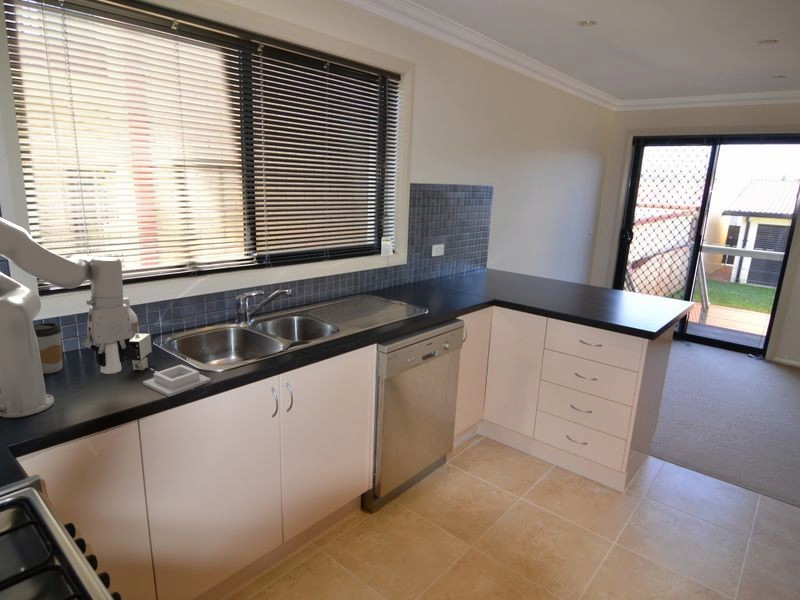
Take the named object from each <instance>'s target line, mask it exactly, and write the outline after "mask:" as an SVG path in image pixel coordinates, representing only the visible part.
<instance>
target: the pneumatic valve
mask: <svg viewBox="0 0 800 600" xmlns="http://www.w3.org/2000/svg"><path fill="white" fill-rule="evenodd" d="M153 344H154V338H153V337H152V333H151V332H149V333H148V332H147V333H146V332H139V333H136V334H135V336H134V337H133V338H132V339H131V340H130V341H129V342H128V344H127V345H126V348H124V360H125V361H131V362H132V367H133V368H132V369H133V371H138V370H139V371H144V370H145V369H147V368H148V367H149V365H148V357H147V356H148V355H149V354H151V353H152V352H153Z"/></svg>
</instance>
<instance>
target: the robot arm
mask: <svg viewBox="0 0 800 600" xmlns="http://www.w3.org/2000/svg"><path fill="white" fill-rule="evenodd" d="M0 256H1V257H3V258H5V259H6V260H8V261H9V262H10V263H11V264H13V265H15V266H16V267H18V268H20V269H21V270H22V271H24V272H25V273H27V274H29V275H31V276H34V277H35V278H37V279H39V280H41V281H44V282H47V283H49V284H51V285H53V286H56V287H59V288H61V289H75V288H78V287H80V286H81V285H82V284H84V282H87V281H90V290H91V291H90V292H91V293H90V294H91V296H90V298H89V299H87V300H86V305H88V306H89V305H90V306H89V310H88V315H87V326H86V327H87V328H86V330H87V334H86V335H85V338H84V339H83V340H82V342H81V345H82V346H84V347H86V348H88V349H91V350H92V351H94V352H95V358H96V359H95V360H96V363H97V365H99V366H100V367H101V366H102V367H104V366H106V357H105V353H104V352H103V349H104V344H106V343H111V342H116V341H117V344H118V350H119V358H120V362H121V363H123V362H124V359H125V357H124V348H126V345H127V344H128V342H129V341H130V340H131V339H132V338H133V337H134V336H135V333H134V332H133V331H132V330H131V322H130V316H129V312H128V308H127V305H126V304H123V298H124V289H123V287H124V286H123V265H122V264H123V263H122V260H121V259H119V258H118V257H117V256H116V257H115V256H90V255H83V254H68V255H66V256H62V255H61V254H57V253H55V252H54V251H51V250H49V249H48V248H45V247H44V246H42V245H41V244H40V243H38V242H36V241H35V240H34V238H33V237H32V236H31V234H30V233H29V232H28V230H26V229H25V228H24V227H22V226H20V225H17V224H16V223H13V222H12V221H9V220H7V219H4V218H2V217H1V216H0ZM41 306H42V303H41V299H40V298H39V296H38V294H36V293H35V292H34V291H33V290H31V289H30V288H29V287H27V286H25V285H23V284H22V283H20V282H18V281H17V280H15V279H13V278H11V277H10V276H8V275H7V274H4V273H3V272H2V271H0V417H3V418H10V419H12V418H22V417H28V416H32V415H35V414H38V413H41V412H43V411H45V410H47V409H49V408H50V407H52V405H53V404H54V403H55V398H54V396H53V395H51V394H48V393H47V390H46V383H45V379H44V374H43V371H42V364H41V358H40V352H39V346H38V341H37V336H36V333H35V330H34V327H33V325H34V323H33V321H34V319H35V317H36V316H38V314H39V313H40V310H41ZM91 342H93V343H91Z"/></svg>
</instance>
